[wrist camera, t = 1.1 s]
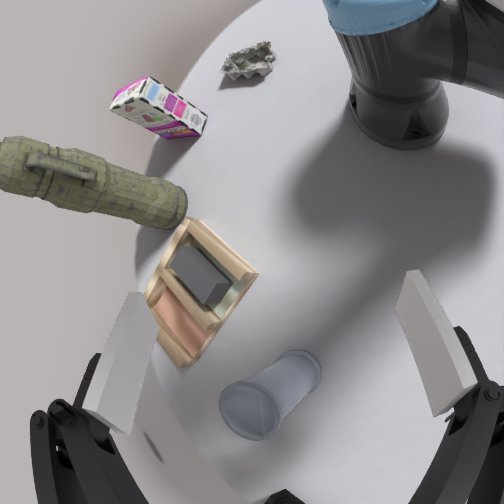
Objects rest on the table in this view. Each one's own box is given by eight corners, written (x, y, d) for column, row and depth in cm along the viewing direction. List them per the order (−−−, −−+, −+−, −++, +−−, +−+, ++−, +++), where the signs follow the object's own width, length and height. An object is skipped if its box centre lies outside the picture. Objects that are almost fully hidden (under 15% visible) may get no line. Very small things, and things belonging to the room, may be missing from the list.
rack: (201, 220, 46) (185, 216, 43) (259, 273, 40) (245, 272, 36) (151, 308, 51) (136, 309, 47) (194, 363, 44) (178, 368, 41)
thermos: (154, 191, 54) (-1, 144, 23) (195, 180, 48) (12, 109, 17) (150, 232, 53) (-16, 201, 22) (192, 227, 47) (-11, 180, 17)
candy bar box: (209, 114, 48) (149, 73, 34) (202, 136, 48) (138, 98, 34) (172, 120, 54) (116, 89, 40) (165, 139, 54) (106, 111, 40)
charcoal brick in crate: (198, 248, 44) (181, 245, 41) (233, 283, 40) (217, 283, 37) (186, 267, 45) (169, 266, 42) (219, 303, 41) (203, 304, 38)
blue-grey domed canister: (295, 340, 36) (242, 368, 24) (331, 372, 33) (293, 418, 21) (267, 371, 37) (208, 405, 25) (300, 402, 34) (252, 450, 22)
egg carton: (281, 52, 42) (272, 39, 38) (271, 78, 42) (261, 66, 39) (237, 57, 47) (227, 47, 44) (226, 82, 48) (215, 72, 44)
